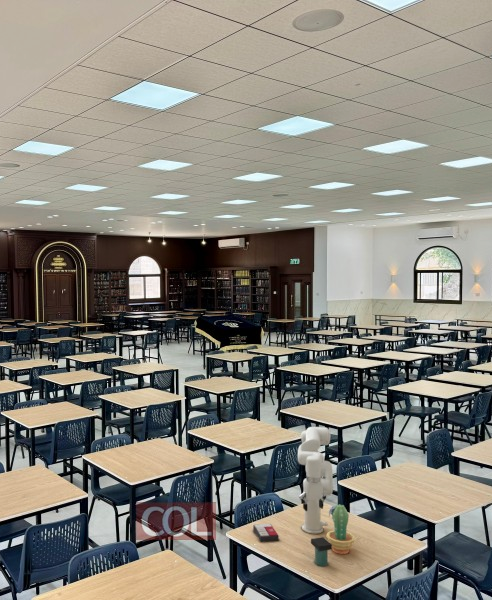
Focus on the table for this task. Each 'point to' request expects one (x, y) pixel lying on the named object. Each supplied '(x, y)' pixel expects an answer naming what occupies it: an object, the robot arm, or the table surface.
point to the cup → (321, 557)
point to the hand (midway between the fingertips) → (313, 509)
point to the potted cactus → (340, 530)
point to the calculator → (265, 532)
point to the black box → (321, 544)
